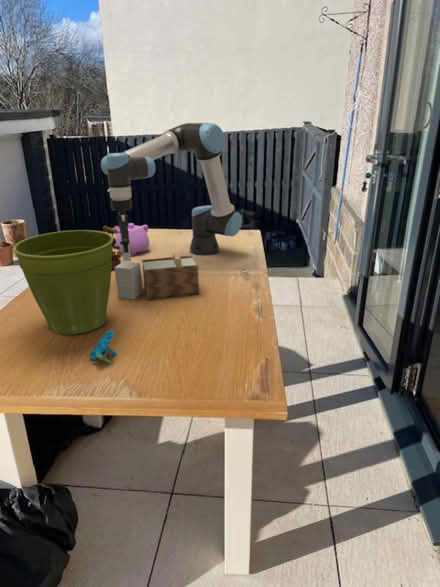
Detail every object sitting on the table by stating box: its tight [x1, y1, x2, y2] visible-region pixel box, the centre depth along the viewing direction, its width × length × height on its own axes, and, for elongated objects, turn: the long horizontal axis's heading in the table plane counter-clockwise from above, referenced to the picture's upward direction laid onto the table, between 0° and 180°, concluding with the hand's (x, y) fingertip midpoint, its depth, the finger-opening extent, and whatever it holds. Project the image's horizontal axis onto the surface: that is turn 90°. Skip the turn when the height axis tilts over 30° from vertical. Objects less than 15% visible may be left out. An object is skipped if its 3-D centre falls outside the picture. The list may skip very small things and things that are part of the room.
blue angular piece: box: [89, 329, 117, 364], centre depth 122 cm, size 11×6×10 cm
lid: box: [142, 252, 197, 271], centre depth 165 cm, size 20×11×4 cm, turn 105°
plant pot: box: [12, 229, 114, 336], centre depth 138 cm, size 30×30×29 cm
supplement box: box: [114, 261, 144, 300], centre depth 163 cm, size 7×7×13 cm
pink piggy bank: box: [113, 222, 150, 257], centre depth 219 cm, size 20×20×15 cm
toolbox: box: [141, 255, 200, 301], centre depth 167 cm, size 20×13×12 cm, turn 105°
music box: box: [102, 225, 122, 272], centre depth 193 cm, size 15×11×20 cm
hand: (126, 255), depth 159 cm, fingers open, 13 cm apart
